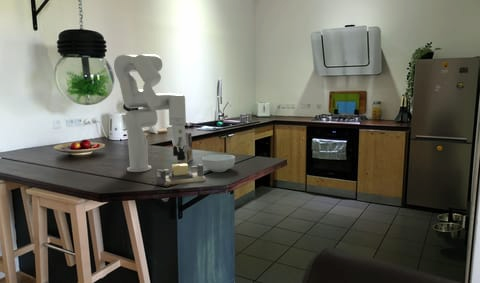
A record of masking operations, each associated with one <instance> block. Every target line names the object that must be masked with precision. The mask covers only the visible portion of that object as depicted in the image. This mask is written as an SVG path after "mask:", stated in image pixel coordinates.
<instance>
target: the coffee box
mask: <svg viewBox="0 0 480 283" xmlns="http://www.w3.org/2000/svg"><path fill="white" fill-rule="evenodd" d="M185 135H186V146H184V158H185V159H184V160H177V163H179V164H185V163H187V164H188V163H190V162H191V161H192V160H194V157H193V155H194V154H193V140H192V138H193V137H192V132H185Z"/></svg>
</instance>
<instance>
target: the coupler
mask: <svg viewBox="0 0 480 283" xmlns="http://www.w3.org/2000/svg"><path fill="white" fill-rule="evenodd" d="M170 171H171V173H172V176H173V177H175V176H184V175H189V172H190V168H189V164H188V163H176V164H171V170H170Z"/></svg>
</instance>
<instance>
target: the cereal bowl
mask: <svg viewBox="0 0 480 283" xmlns="http://www.w3.org/2000/svg"><path fill="white" fill-rule="evenodd" d="M201 161H202V162H201V163H202V165H203V168H205V169H207V170H209V171H211V172H213V173H224V172H226V171H228V170H229V169H232V167H233V166H234V165H235V163H236V156H235V155H232V154H211V155H206V156H202V159H201Z"/></svg>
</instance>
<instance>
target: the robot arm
mask: <svg viewBox="0 0 480 283" xmlns="http://www.w3.org/2000/svg"><path fill="white" fill-rule="evenodd" d="M113 68H114V69H113V70H114V73H115V76H116V78H117V81H118V83H119V87H120V91H121V96H122V100H123V105H124V106H125V107H126V108H128V109H135V110H129V111H127V112H126V113H125V114H124V118H123V120H124V124H125V127H126V133H127V144H128V158H129V167H126V170H127V172H131V173H142V172H147V171H150V170H152V165H149V155H148V140H147V134H146V133H145V131H144V130H143V129H144V128H152V127H155V126H156V125H157V123H158V112H157V111H163V110H166V111H167V110H168V121H169V123H168V124H169V126H171V142H172V145H173V146H172V147H173V148H172V152H173V154H172V155H173V156H174V157H177V158H176V159H177V160H176V161H178V160H184V159H185V158H184V146H186V135H185V133H186V127H185V125H187V116H186V111H187V110H186V97H185V95H184V94H179V93H177V94H176V93H172V92H169V93H168V92H167V93H164V92H163V93H156V92H155V90H154V89H153V87H155V86H156V85H158V84H159V83H160V82H161V79H162V76H161V73H159V72H160V71H161V70H162V68H163V60H162V58H161V56H159V55H156V54H147V53H146V54H145V53H142V54H121V55H117V56H116V57H115V59H114V62H113ZM130 72H132V73H133V72H136V73H137V74H138V75H139V76H140V79H141V80H142V81H143V83H144V84H143V86H142V89H139V88H138V83H137V79H135V77H134V76H133V75H132V74H131V73H130ZM139 108H140V109H139ZM141 108H142V109H141Z"/></svg>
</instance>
